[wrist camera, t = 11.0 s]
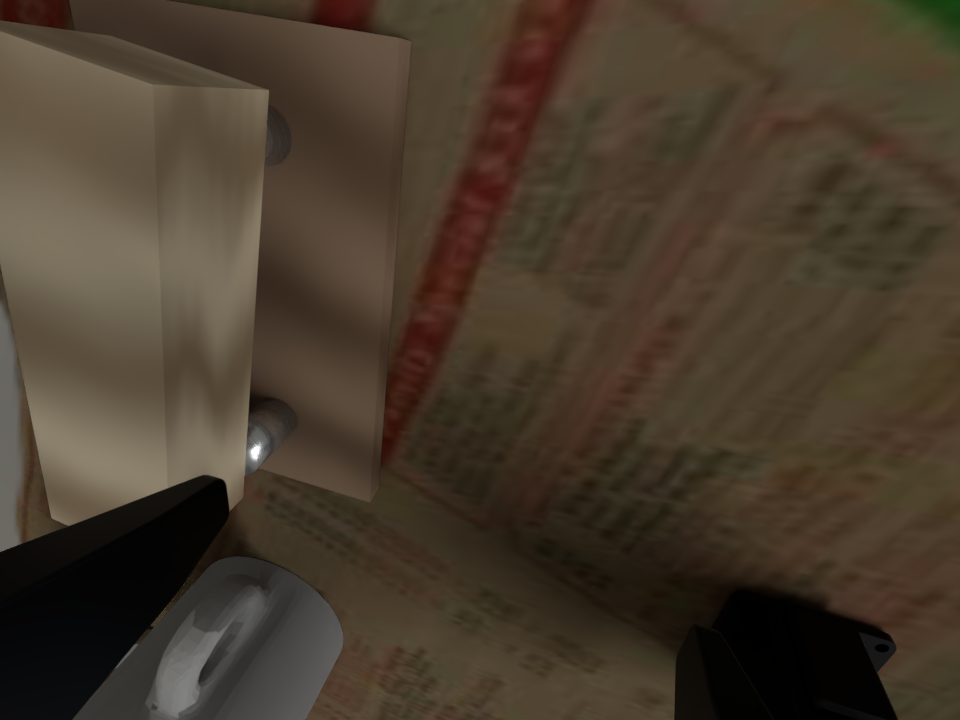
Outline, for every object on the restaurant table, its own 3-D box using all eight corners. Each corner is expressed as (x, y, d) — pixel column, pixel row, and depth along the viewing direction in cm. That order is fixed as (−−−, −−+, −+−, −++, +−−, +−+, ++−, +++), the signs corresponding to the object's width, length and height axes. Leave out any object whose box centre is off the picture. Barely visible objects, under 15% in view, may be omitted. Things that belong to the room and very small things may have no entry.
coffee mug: (316, 688, 35) (215, 880, 26) (190, 614, 35) (47, 783, 26) (386, 583, 28) (281, 794, 20) (230, 493, 28) (56, 664, 20)
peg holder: (378, 488, 25) (339, 549, 22) (167, 424, 27) (100, 472, 24) (411, 41, 16) (353, 23, 13) (92, -10, 18) (-34, -38, 15)
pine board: (243, 497, 22) (170, 571, 18) (140, 454, 22) (51, 518, 19) (269, 89, 14) (152, 84, 11) (111, 36, 15) (-51, 13, 11)
